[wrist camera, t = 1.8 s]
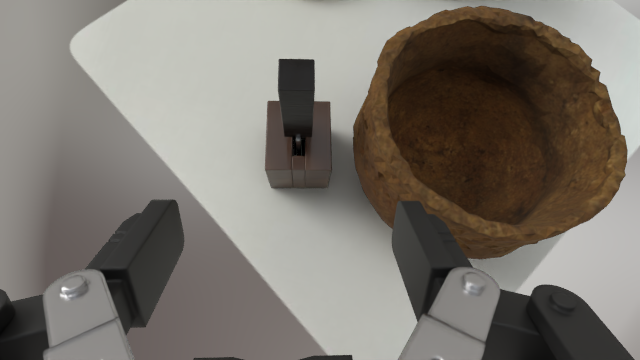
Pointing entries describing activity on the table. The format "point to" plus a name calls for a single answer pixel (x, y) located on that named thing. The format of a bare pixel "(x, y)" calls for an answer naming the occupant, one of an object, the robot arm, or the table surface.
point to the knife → (296, 98)
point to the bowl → (489, 130)
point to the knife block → (298, 169)
